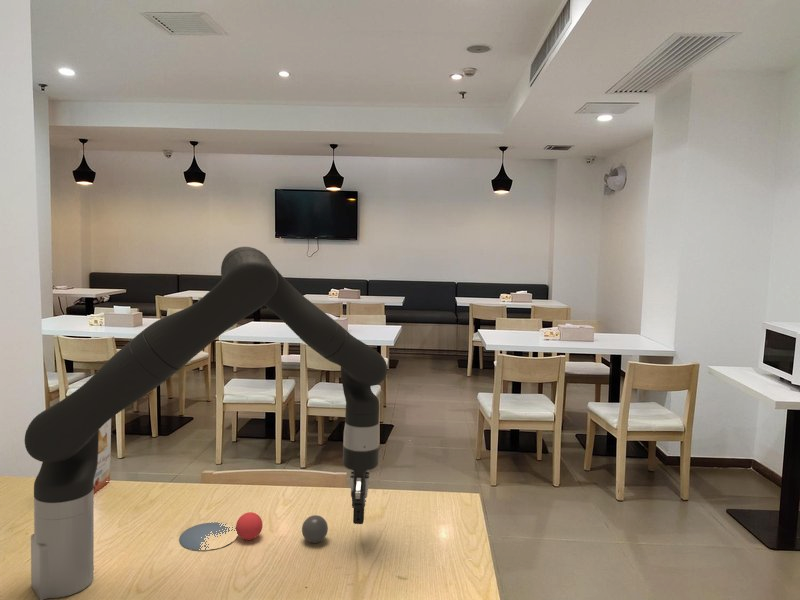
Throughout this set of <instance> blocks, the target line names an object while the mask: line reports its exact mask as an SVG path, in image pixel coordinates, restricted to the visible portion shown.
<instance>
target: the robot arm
mask: <svg viewBox="0 0 800 600" xmlns="http://www.w3.org/2000/svg"><path fill="white" fill-rule="evenodd" d="M220 275H221V279H220V281H219V282H218V283H216V284H215V286H214V287H213V288H212V289H211V290H209V291H208V292H207V293H206V294H205V295H203V297H202V298H200V299H198V300H196V302H195V303H193V304H191V305H190V306H188V307H186V308H184V309H181V310H179V311H176V312H174V313H171V314H169V315H166V316H163V317H162V318H160V319H158V320H156V321H154V322H153V323H151V324H150V325H148V326H147V327H145V329H143V330H141V332H140V333H138V334H137V335H135V337H133V338H132V339H131V340H129V341H128V342H127V343H126V344H125V345H124V346H122V347H121V349H120V350H118V351H117V352H116V353H115V354H113V355H112V356H111V358H110V359H109V360H108V361H106V363H104V364H103V365H102V367H100V368H99V369H98V370H97V371H96V372H95V373H94V374H93V375H92V376H91V377H90V378H89V379H88V380H87V381H86V382H85V383H84V384H82V385H81V386H80V387H79V388H78V389H76V390H75V391H73V392H72V393H71V394H69V395H68V396H66V397H65V398H63V399H62V400H61V401H58V402H57V403H54V404H52V405H51V406H49V407H47V408H46V409H44V410H42V411H41V412H40V413H38V414H37V415H36V416H35V417H34V418H33V419H31V422H30V423H29V424H28V426H27V428H26V429H25V435H24V446H25V449H26V452H27V454H28V455H29V456H30V457H32V459H34V460H36V461H38V462H42V463H41V465H40V469H39V471H38V474H37V475H36V478H35V479H34V483H33V516H34V518H33V520H34V521H33V522H34V524H33V525H34V527H33V528H34V530H33V531H34V534H31V536H30V576H31V577H30V583H31V584H30V585H31V587H32V589H33V591H34V592H35V595H36V596H37V598H38V599H39V600H47V599H57V598H64V597H68V596H71V595H74V594H77V593H79V592H81V591H83V590H84V589H86V588H87V587H88V586H90V585H91V583H92V582H93V580H94V570H95V568H94V567H95V566H94V556H95V555H94V550H95V549H94V547H95V546H94V541H95V540H94V539H95V538H94V536H95V535H94V534H95V533H94V525H95V524H94V522H95V521H94V517H95V515H94V510H95V509H94V506H95V504H94V503H95V502H94V501H95V500H94V495H95V493H94V477H95V473H96V470H97V464H98V442H99V429H100V428H101V427H102V426H103V425H104V424H105V423H106V422H107V421H108V420H110V419H111V420H112V418H113V417H115V416H116V415H117V414H119V413H121V412H122V411H123V410H125V409H126V408H128V407H129V406H131V405H133V404H134V403H136V402H138V401H140V399H142V398H144V397H146V395H148V394H150V393H151V392H152V391H154V390H155V389H156V388H158V387H159V386H160V385H162V384H164V383H165V382H166V381H167V380H168V379H170V378H171V377H172V376H174V374H176V373H177V372H178V371H180V370H181V369H182V368H183V367H185V365H186V364H188V363H189V362H190V361H192V359H193V358H194V357H197V355H198V354H199V353H201V352H202V351H203V350H204V349H206V348H207V347H209V346H210V345H211V343H212V342H214V341H215V340H216V339H218V337H219V336H221V335H223V334H224V333H225V332H226V331H228V330H229V329H231V328H232V327H233V326H235V325H236V324H238V323H239V322H241V321H242V320H244V319H245V318H248V317H249V316H250V315H251V314H254V313H255V312H256V311H258V310H259V309H261V308H262V307H263V306H264V307H266V308H267V309H268V310H270V311H271V312H272V313H274V315H276V316H277V317H278V318H279V319H280V320H281V321H282V322H283V323H284V324H285V325H286V326H287V327H289V328H290V330H291V331H292V332H293V333H294V334H295V335H296V336H297V337H298V338H299V339H300V340H301V341H302V342H304V343H305V345H307V346H308V347H310V349H312V350H313V351H314V352H316V353H318V355H320V356H321V357H323V358H324V359H325V360H327V361H329V362H331V363H333V364H336V365H338V366H339V367H340V378H341V385H342V389H343V395H344V399H345V416H344V417H345V419H344V420H345V421H344V429H343V444H342V465H343V466H344V468H346V469H348V470H351V471H350V477H349V479H350V480H349V484H350V497H351V507H352V509H353V512H352V514H353V517H352V522H353V524H354V525H363V524H364V523H365V522H364V521H365V506H366V503H367V500H366V499H367V498H368V492H369V485H370V484H369V483H370V476H371V475H370V474H371V472H370V471H371V470H374V469H375V468H377V467H378V465H379V457H380V456H379V454H380V453H379V451H380V427H379V426H380V425H379V424H380V423H379V422H380V421H379V420H380V419H379V418H380V401H379V398H378V397H377V396H376V395H375V393H373V391H372V388H371V387H373V386H378V385H380V384H381V383H382V382H383V381H384V380H385V379H386V377H387V374H388V365H387V362H386V360H385V358H384V357H383V355H381V354H380V352H378V351H377V350H375V349H374V348H373V347H371V346H369V345H368V344H366V343H365V342H363V341H361V340H360V339H358V338H356V337H355V336H354V335H352V334H351V333H350V332H349V331H348V330H347V329H345V328H344V327H343V326H342V325H340V323H338V322H337V321H336V320H334V319H333V318H332V317H330V316H329V314H327V313H325V311H323V310H322V309H320V308H319V307H318V306H316V305H315V304H314V303H312V301H310V300H309V299H308V298H306V297H305V295H303V294H302V293H300V292H299V291H298V289H296V288H295V287H294V286H293V285H292V284H291V283H289V281H288V280H287V279H286V278H285V277H284V276H283V275H282V274H281V273H280V272H279V270H277V268H276V267H275V265H273V263H272V261H271V260H270V259H269V257H268V256H267V255H266V254H265V253H264V252H262V251H261V250H259V249H257V248H255V247H251V246H240V247H236V248H234V249H231V250H230V251H229V252H228V253H227V254H225V256H224V258H223V259H222V262H221V267H220Z"/></svg>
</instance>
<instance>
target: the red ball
mask: <svg viewBox="0 0 800 600" xmlns="http://www.w3.org/2000/svg"><path fill="white" fill-rule="evenodd" d="M263 527H264V526H263V520H262V517H261V516H260V515H259V514H257V513H255V512H249V511H248V512H244V513H243V514H241V516H239V518H238V519H237V521H236V524H235V528H236V531H237V534H238V537H239V538H241V539H243V540H245V541H250V540H254V539H256V538H257V537H258V536H259V535H260V534H261V532H262V530H263Z"/></svg>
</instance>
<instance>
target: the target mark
mask: <svg viewBox="0 0 800 600" xmlns="http://www.w3.org/2000/svg"><path fill="white" fill-rule="evenodd" d="M220 523H221V524H222V523H223V522H220ZM220 523H218V521H216V522H215V521H214V523H213V522H212V521H211V523H210V522H204V523H200V524H196V525H193V526H191V527H188V528H186V529H185V530H183V532H182V533H181V534H180V535H179V540H178V541H179V544H180V546H181V547H183V548H185V549H187V550H189V549H192V550H191V551H194V550H199V549H200V550H201V548H202V547H203V546H202V547H201V545H202V544H203V543H202V544H201V542H205V540H206V539H205V540H204V538H206V536H210V534H212V533H213V534H214V536H215V534H216V533H217V534H216V535H218V533H219V534H221V533H220V532H222V534H223V533H224V532H225V534H226V532H227V531H226V530H227V528H228V527H225V526H223V525H224V524H223V525H222V526H221V524H220ZM219 524H220V525H219ZM226 524H227V523H226ZM226 524H225V525H226ZM220 526H221V527H220ZM225 528H226V529H225ZM229 528H230V527H229ZM229 528H228V532H229V531H230V530H229ZM232 528H233V527H232ZM222 529H223V530H222ZM235 529H236V527H235ZM219 530H220V531H219ZM224 530H225V531H224ZM232 530H233V529H232ZM232 530H231V531H232ZM211 531H212V533H210V532H211ZM216 531H217V532H216ZM223 531H224V532H223ZM234 531H235V530H234ZM208 534H209V535H208ZM213 534H212V535H213ZM205 535H206V536H205ZM220 536H221V535H220ZM201 537H202V538H201ZM215 537H216V536H215ZM217 537H218V536H217ZM207 538H208V537H207ZM208 539H209V538H208ZM206 542H207V541H206ZM206 542H205V544H206ZM200 544H201V545H200ZM206 545H207V544H206ZM206 545H204V547H206ZM208 545H209V544H208ZM200 547H201V548H200ZM207 547H208V546H207ZM207 547H206V548H207ZM206 548H205V550H206ZM208 548H209V547H208Z"/></svg>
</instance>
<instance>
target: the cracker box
mask: <svg viewBox="0 0 800 600" xmlns="http://www.w3.org/2000/svg"><path fill="white" fill-rule="evenodd" d="M111 435H112V418H111V419H110V420H108V421H107V422H106V423H105V424H104V425H103V426H102V427H101V428H100V429H99V442H98V464H97V470H96V473H95V477H94V494H96V493H98V492H99V491H100V490H101V489H102V488H104V487H105V486H106V485H108V484H109V483H110V482H111V449H112V448H111V447H112V446H111V444H112V443H111V441H112V440H111V439H112V437H111ZM106 481H110V482H106Z"/></svg>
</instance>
